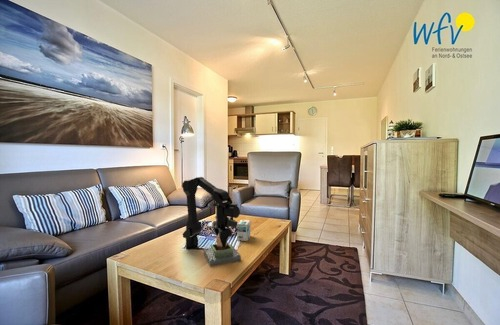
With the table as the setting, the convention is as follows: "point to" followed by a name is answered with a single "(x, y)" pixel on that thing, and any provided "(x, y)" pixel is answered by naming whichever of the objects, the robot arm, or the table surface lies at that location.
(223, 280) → the table surface
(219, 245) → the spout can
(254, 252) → the table surface
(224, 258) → the gearbox housing
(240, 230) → the light bulb box
